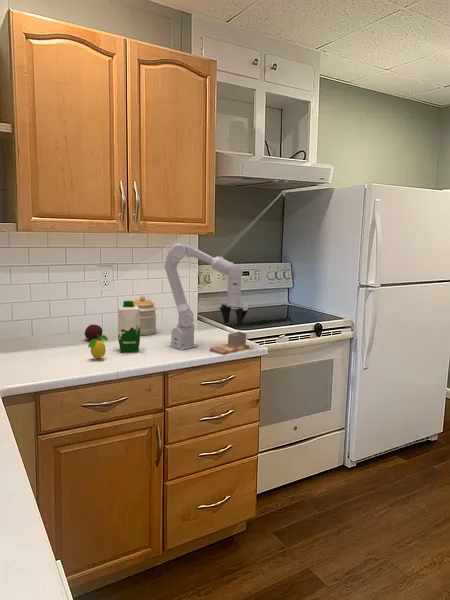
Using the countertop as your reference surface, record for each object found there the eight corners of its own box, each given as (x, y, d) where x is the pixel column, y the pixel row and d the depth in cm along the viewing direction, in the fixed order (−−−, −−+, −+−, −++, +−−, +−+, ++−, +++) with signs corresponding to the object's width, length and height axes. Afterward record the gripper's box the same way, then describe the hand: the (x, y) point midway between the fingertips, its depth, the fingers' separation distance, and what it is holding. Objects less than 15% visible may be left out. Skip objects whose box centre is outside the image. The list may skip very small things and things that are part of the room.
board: (223, 354, 190) (223, 351, 190) (210, 350, 195) (210, 348, 195) (249, 348, 201) (249, 345, 201) (235, 344, 207) (236, 341, 207)
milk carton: (138, 347, 198) (138, 300, 195) (140, 352, 189) (140, 304, 186) (117, 348, 196) (117, 300, 192) (118, 353, 187) (118, 304, 184)
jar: (144, 337, 215) (144, 299, 212) (122, 333, 221) (122, 296, 219) (161, 332, 226) (162, 296, 223) (140, 328, 233) (140, 293, 230)
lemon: (108, 356, 182) (108, 331, 181) (106, 361, 177) (106, 335, 175) (90, 357, 181) (90, 331, 180) (88, 361, 176) (87, 335, 174)
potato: (105, 340, 207) (105, 325, 206) (88, 343, 202) (88, 327, 201) (98, 337, 212) (98, 322, 211) (81, 339, 208) (81, 324, 207)
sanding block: (234, 347, 197) (235, 335, 197) (227, 345, 200) (228, 334, 199) (245, 344, 202) (246, 333, 202) (238, 342, 205) (239, 331, 204)
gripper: (253, 294, 197) (251, 326, 199) (228, 290, 207) (227, 320, 209) (241, 296, 192) (240, 328, 194) (217, 291, 202) (216, 322, 204)
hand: (232, 324), depth 202 cm, fingers open, 7 cm apart
